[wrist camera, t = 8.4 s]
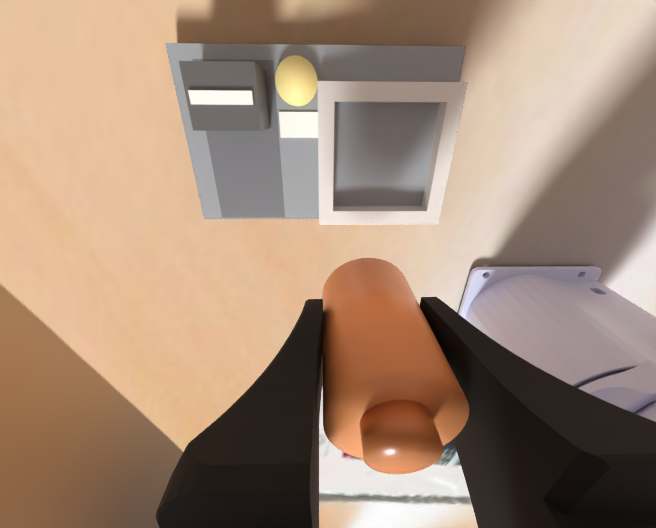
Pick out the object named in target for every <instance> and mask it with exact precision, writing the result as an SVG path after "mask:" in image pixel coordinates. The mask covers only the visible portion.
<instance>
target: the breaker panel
mask: <svg viewBox="0 0 656 528" xmlns="http://www.w3.org/2000/svg"><path fill="white" fill-rule="evenodd" d="M165 44H166V48H167V53H168V57H169V62H170V66H171V71H172V75H173V80H174V84H175V89H176V94H177V98H178V103H179V107H180V112H181V116H182V121H183V125H184V130H185V134H186V139H187V143H188V148H189V152H190V157H191V161H192V166H193V170H194V175H195V179H196V184H197V188H198V193H199V197H200V202H201V206H202V211H203V215H204V219H319V225H379V224H438V223H439V218H440V213H441V208H442V204H443V199H444V194H445V189H446V185H447V180H448V175H449V170H450V165H451V161H452V156H453V151H454V146H455V142H456V137H457V132H458V127H459V122H460V118H461V113H462V108H463V103H464V99H465V94H466V89H467V84H468V82H459V79H460V74H461V69H462V64H463V59H464V54H465V49H466V46H401V45H306V44H211V43H165ZM179 61H244V62H256V63H257V64H258V65H260V66H261V67H262V68H264V69H265V71H266V82H267V94H268V105H269V117H270V128H269V129H266V130H262V131H193V128H192V123H191V118H190V113H189V108H188V104H187V99H186V94H185V89H184V84H183V80H182V75H181V70H180V65H179Z"/></svg>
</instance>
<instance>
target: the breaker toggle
mask: <svg viewBox="0 0 656 528" xmlns="http://www.w3.org/2000/svg"><path fill="white" fill-rule="evenodd" d="M179 65H180V70H181V75H182V80H183V84H184V89H185V94H186V99H187V104H188V108H189V113H190V118H191V123H192V128H193V131H262V130H266V129H269V128H270V117H269V105H268V94H267V82H266V71H265V69H264V68H262V67H261V66H260V65H258V64H257V63H256V62H244V61H179Z"/></svg>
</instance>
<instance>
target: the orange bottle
mask: <svg viewBox="0 0 656 528" xmlns="http://www.w3.org/2000/svg"><path fill="white" fill-rule="evenodd" d="M322 299H323V426H324V431H325V434H326V436H327V438H328V439H329V441H330V442H331V443H332V444H333V445H334V446H335V447H337V448H338V449H340V450H341V451H343V452H345V453H347V454H349V455H352V456H355V457H358V458H362V459H364V461H365V463H366V464H367V465H368V466H369V467H370V468H372V469H374V470H376V471H378V472H382V473H387V474H406V473H412V472H416V471H419V470H422V469H425V468H427V467H429V466H431V465H432V464H434V463H435V462H436V461H437V460H438V459H439V458H440V457H441V455H442V453H443V446H444V445H445V444H447V443H448V442H450V441H451V440H452V439H454V438H455V437H456V436H457V435H458V434H459V433H460V432H461V430H462V429H463V428H464V426H465V424H466V422H467V420H468V416H469V404H468V401H467V399H466V397H465V395H464V393H463V391H462V389H461V387H460V385H459V383H458V381H457V379H456V377H455V375H454V373H453V371H452V369H451V367H450V365H449V363H448V361H447V359H446V357H445V355H444V353H443V351H442V349H441V347H440V345H439V343H438V341H437V339H436V337H435V335H434V333H433V331H432V330H431V328H430V326H429V324H428V322H427V320H426V318H425V316H424V314H423V312H422V310H421V308H420V306H419V304H418V302H417V300H416V298H415V296H414V294H413V292H412V290H411V288H410V286H409V284H408V282H407V280H406V278H405V276H404V275H403V273H402V272H401V271H400V270H399V269H398V268H397V267H396V266H394V265H393V264H391V263H389V262H387V261H384V260H381V259H376V258H361V259H356V260H353V261H350V262H347V263H345V264H343V265H342V266H340V267H339V268H337V269H336V270H335V271H334V272H333V273H332V274H331V275H330V276H329V278H328V279H327V281H326V283H325V285H324V288H323V295H322Z"/></svg>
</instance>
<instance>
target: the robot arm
mask: <svg viewBox="0 0 656 528" xmlns="http://www.w3.org/2000/svg"><path fill="white" fill-rule="evenodd" d="M485 272H487V273H486V274H485V275H483V274H484V273H485ZM601 274H602V270H601V269H600V268H598V267H596V266H540V267H476V268H474V269H473V270H472V271H471V273H470V276H469V279H468V283H467V286H466V289H465V293H464V296H463V299H462V303H461V306H460V310H459V313H457V312H455V311H454V310H453V309H451V308H450V307H449V306H448V305H446V304H445V303H444V302H442V301H441V300H440V299H438V298H437V297H421V302H420V308H421V310H422V312H423V314H424V316H425V318H426V320H427V322H428V324H429V326H430V328H431V330H432V331H433V333H434V335H435V337H436V339H437V341H438V343H439V345H440V347H441V349H442V351H443V353H444V355H445V357H446V359H447V361H448V363H449V365H450V367H451V369H452V371H453V373H454V375H455V377H456V379H457V381H458V383H459V385H460V387H461V389H462V391H463V393H464V395H465V397H466V399H467V401H468V404H469V416H468V420H467V422H466V424H465V426H464V428H463V429H462V430H461V432H460V433H459V434H458V435H457V436H456V437H455V438H454V439H453V440H454V443H455V446H456V449H457V453H458V456H459V460H460V463H461V466H462V470H463V473H464V476H465V480H466V483H467V487H468V491H469V494H470V498H471V502H472V505H473V509H474V512H475V516H476V520H477V524H478V528H656V317H655V316H653V315H651V314H650V313H648V312H647V311H645V310H643V309H642V308H640V307H638V306H637V305H635V304H634V303H632V302H630V301H629V300H627V299H625V298H624V297H622V296H621V295H619V294H617V293H616V292H614V291H612V290H611V289H609V288H608V287H606V286H604V285H603V284H601V283H599V282H598V279H599V277H600V276H601ZM322 378H323V299H308V300H307V301H306V302H305V305H304V308H303V311H302V313H301V315H300V317H299V319H298V321H297V323H296V325H295V327H294V329H293V330H292V332H291V334H290V336H289V337H288V339H287V340H286V342H285V343H284V345H283V347H282V348H281V350H280V351H279V353H278V354H277V355H276V357H275V358H274V359H273V361H272V362H271V363H270V365H269V366H268V367H267V368H266V370H265V371H264V372H263V373H262V374H261V376H260V377H259V378H258V379H257V380H256V381H255V382H254V384H253V385H252V386H251V387H250V388H249V389H248V390H247V391H246V392H245V393H244V394H243V395H242V396H241V397H240V398H239V399H238V400H237V401H236V402H235V403H234V404H233V405H232V406H231V407H230V408H229V409H228V410H227V411H226V412H225V413H224V414H223V415H221V416H220V417H219V418H218V419H217V420H216V421H215V422H213V423H212V424H211V425H210V426H209V427H207V428H206V429H205V430H204V431H203V432H202V433H200V434H199V435H198V436H197V437H196V438H194V439H193V440H192V441H191V442H190V443H189V444H188V445H187V447H186V449H185V451H184V452H183V454H182V456H181V458H180V460H179V462H178V464H177V466H176V468H175V469H174V471H173V473H172V476H171V478H170V480H169V483H168V485H167V488H166V490H165V493H164V495H163V497H162V500H161V502H160V505H159V507H158V510H157V514H156V519H157V522H158V525H159V527H160V528H319V412H320V401H321V389H322Z"/></svg>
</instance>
